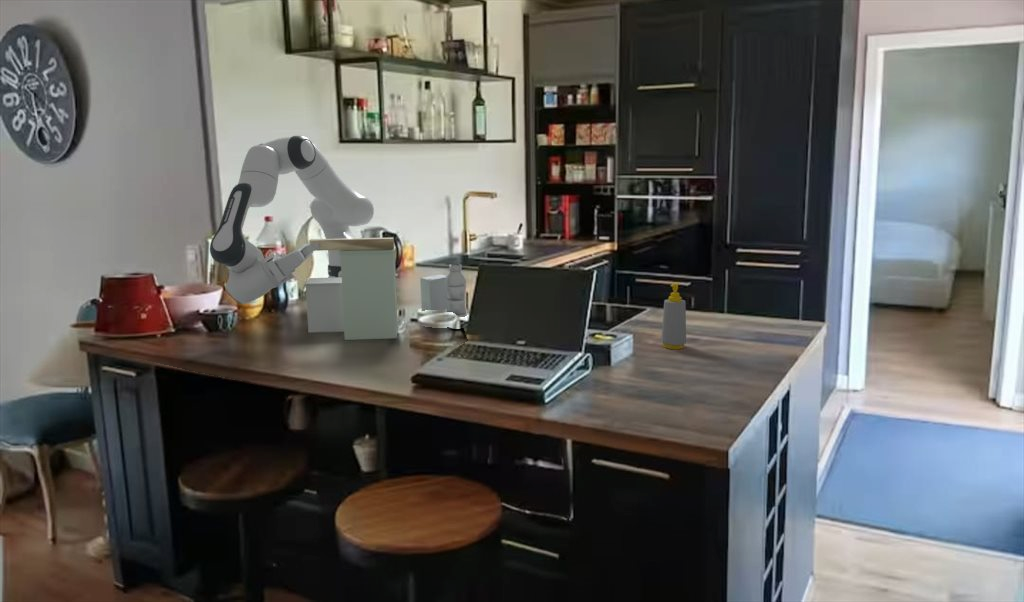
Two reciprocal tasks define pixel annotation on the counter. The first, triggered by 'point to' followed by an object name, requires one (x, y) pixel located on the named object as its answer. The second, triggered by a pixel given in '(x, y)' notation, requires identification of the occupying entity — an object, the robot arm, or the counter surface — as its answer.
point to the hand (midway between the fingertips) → (319, 243)
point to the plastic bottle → (456, 290)
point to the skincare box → (433, 293)
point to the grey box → (324, 305)
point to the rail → (353, 243)
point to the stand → (369, 293)
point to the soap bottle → (674, 321)
